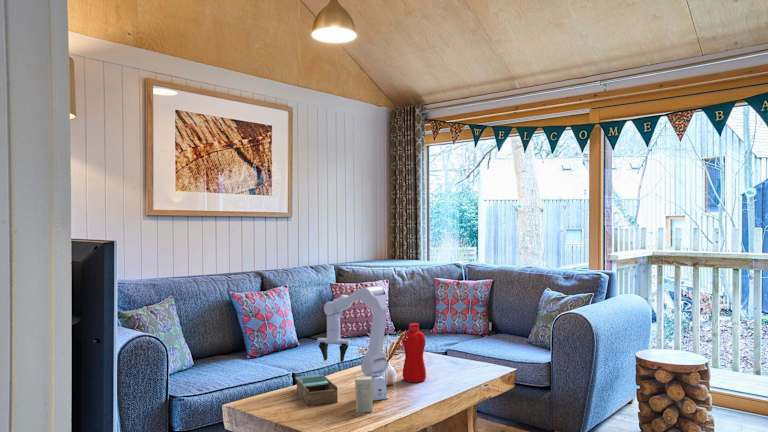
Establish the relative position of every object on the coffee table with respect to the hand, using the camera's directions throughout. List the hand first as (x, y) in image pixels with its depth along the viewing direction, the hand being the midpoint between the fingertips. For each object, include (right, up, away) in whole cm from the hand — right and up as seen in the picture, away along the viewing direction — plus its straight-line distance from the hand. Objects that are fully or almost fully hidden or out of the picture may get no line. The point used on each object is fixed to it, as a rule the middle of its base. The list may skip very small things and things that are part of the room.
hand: (333, 360), depth 249 cm
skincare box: (+14, -10, -34) cm, 38 cm away
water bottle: (+34, -10, +6) cm, 36 cm away
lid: (-8, -5, -13) cm, 16 cm away
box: (-5, -10, -19) cm, 22 cm away
